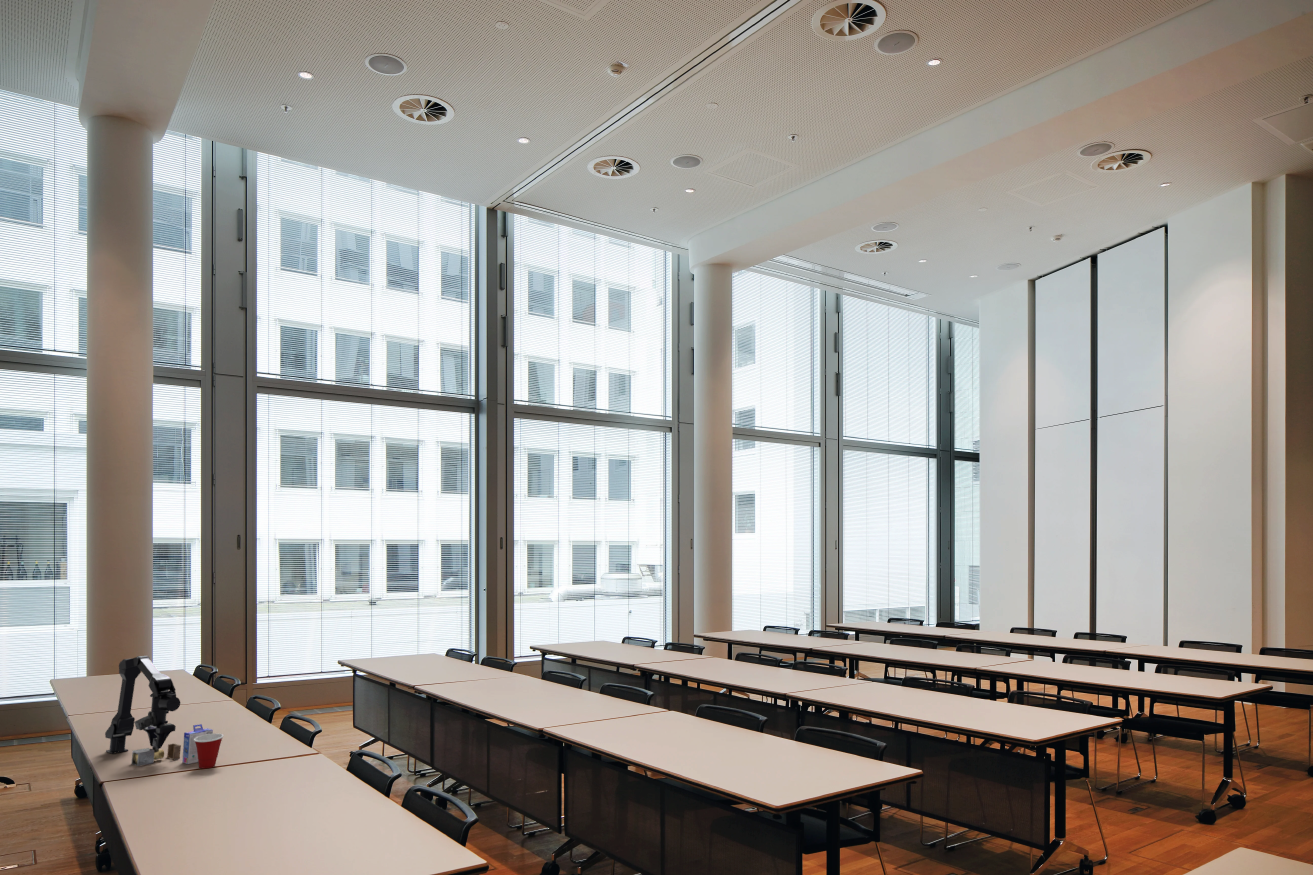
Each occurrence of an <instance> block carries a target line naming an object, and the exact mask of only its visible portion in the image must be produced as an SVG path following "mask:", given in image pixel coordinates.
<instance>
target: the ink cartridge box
mask: <svg viewBox="0 0 1313 875" xmlns="http://www.w3.org/2000/svg"><path fill="white" fill-rule="evenodd" d="M196 727H198V728H196ZM192 728H193V729H192V730H191V731H186V732H184V733H183V748H182V763H183V764H185V765H190V764H195V763H198V755H197V747H196V743H195V741H194V738H196V737H198V736H201V735H206V734H214V729H211V728H203V724H202V723H199V724H194V725H192Z"/></svg>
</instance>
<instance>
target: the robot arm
mask: <svg viewBox="0 0 1313 875" xmlns="http://www.w3.org/2000/svg"><path fill="white" fill-rule="evenodd" d="M141 673H142V674H143V675H144V676H145V677H146V679H147V680H148V687H149V689H150V691H151V694H149V697H150V698H151V708H150V709H151V710H150V711H148V712H147V715H146V716H144V717H141V718H140V719H138V720H136V718H135V717H134V716H133V715H132V713H131V711H132V706H133V698H134V693H135V692H134V691H135V685H136V679H137V678H138V676H140V674H141ZM118 674H119V675H120V678H121V686H120V693H119V699H118V705H117V706H118V707H117V712H116V714H114V716H113V718H112V719H111V723H110V725H109V726H108V728H107V730H106V731H105V733H104V736H105V739H109V740H110V741H109V749H106V750H105V752H107V753H108V754H109V753H110V754H117V753H118V754H119V753H123V752H128V751H129V749H127V748H126V743H127V742H126V741H127V737H130V736H132V734H133V732H134V727H135V729H136V730H139V731H144V732H145V733H146V734H147V737H148V739H149V741H148V742H149V745H150V747H153V739H154V738H157V746H158V749H159V750H161V748H162V746H163V745H164V743H165V742H166V740H167V739H168V737H169V736H170V734H171V733H172V732H176V725H175V724H174V723H171V722H169V721H168V720H167V715H168V714H169V712H176V711H177V710H178V709H179V707H180V705H181V700H180V698H179V697H177V693H176V687H175V685H174V682H173V680H172V678H171V677H170V676H169V675H167V674H165V673H161V672H160V670H159V669H158V668H157V667H156V665H155V664H154V663H153V661H152V660H150V656H149V655H140V656H139V655H138V656H135V657H133V658H123V659H122V660H121V661H120V662H119V663H118ZM168 722H169V723H168Z"/></svg>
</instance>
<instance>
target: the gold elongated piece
mask: <svg viewBox="0 0 1313 875" xmlns="http://www.w3.org/2000/svg"><path fill="white" fill-rule="evenodd" d="M151 747H152V748H151V749H153V750H155V751H154V761H156V760H160V759H164V757H165V750H164V749H161V748H160V749H158V746H157V738H154V739H153V746H151ZM134 761H135V763H137V761H138V754H136V755H135V757H134Z"/></svg>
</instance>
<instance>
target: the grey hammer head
mask: <svg viewBox="0 0 1313 875" xmlns="http://www.w3.org/2000/svg"><path fill="white" fill-rule="evenodd" d="M154 751H155V750H153V749H152V748H150V747H146V748H141V749H135V750H132V753H131V755H132V756H131V763H130V764H131V765H134V766H136V767H139V766H145V765H151V764H154V761H155V760H154ZM136 754H138V761H137V763H135V761H134V757H135V755H136Z"/></svg>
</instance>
